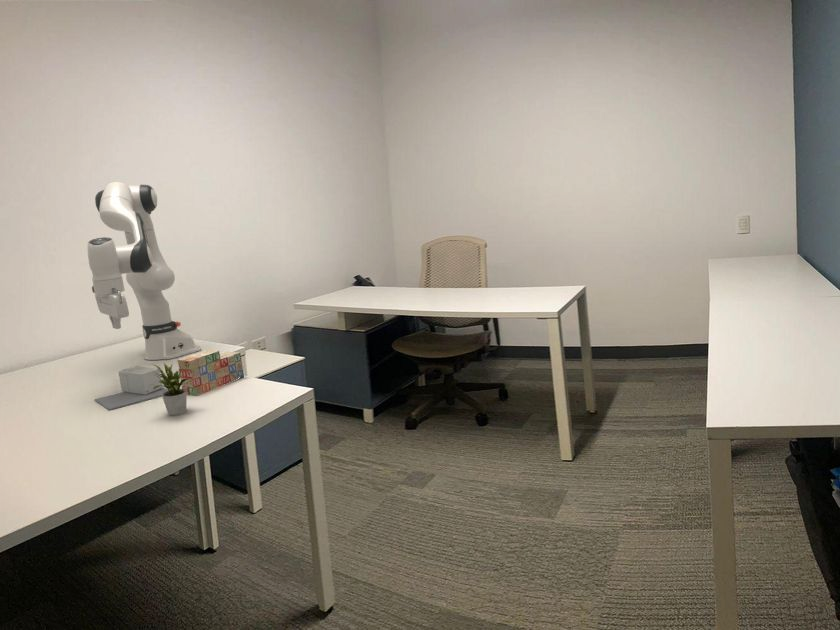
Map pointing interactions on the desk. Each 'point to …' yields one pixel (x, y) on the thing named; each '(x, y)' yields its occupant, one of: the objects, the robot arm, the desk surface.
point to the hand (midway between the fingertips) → (117, 328)
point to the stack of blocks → (209, 370)
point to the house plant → (173, 390)
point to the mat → (127, 399)
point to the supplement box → (140, 380)
